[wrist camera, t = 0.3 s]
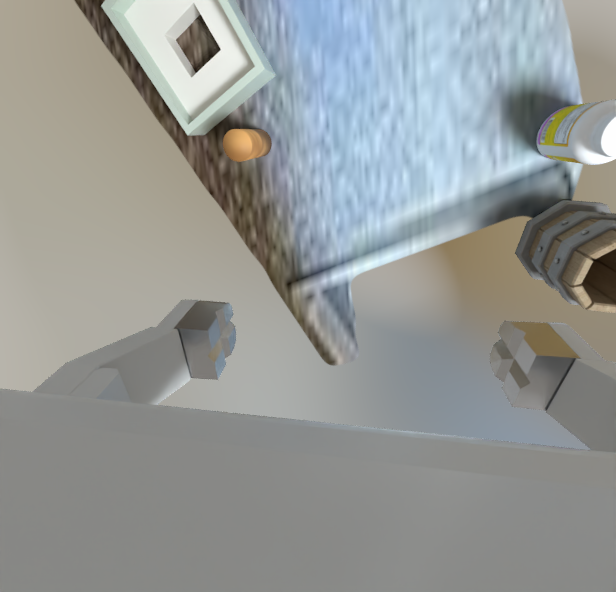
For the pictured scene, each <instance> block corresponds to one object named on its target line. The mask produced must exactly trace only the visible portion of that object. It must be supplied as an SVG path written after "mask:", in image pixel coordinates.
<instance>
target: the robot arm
mask: <svg viewBox="0 0 616 592" xmlns="http://www.w3.org/2000/svg"><path fill="white" fill-rule="evenodd" d="M232 316H233V310H232V306H231V305H230V303H225V302H213V301H201V300H200V301H198V300H181V301H180V302H179V303H178V304H177V305H176V307H175V308H174V309H173V310H172V311H171V312H170V313H169V314H168V315H167V316H166V317H165V318H164V319H163V320H162V321H161V322H160V323H159V325H158V326H157V327H150V328H148V329H145V330H143V331H140V332H138V333H136V334H133V335H131V336H129V337H126V338H124V339H121V340H119V341H117V342H115V343H112V344H110V345H107V346H105V347H103V348H100V349H98V350H95V351H93V352H91V353H88V354H86V355H84V356H81V357H79V358H77V359H74V360H72V361H70V362H67V363H65V364H64V365H63V366H62V367H61V368H60V369H58V370H57V371H56V372H55V373H54V374H53V375H51V377H49V378H48V379H47V380H46V381H45V382H43V383H42V384H41V385H40V386H39V387H37V388H36V389H35V390H34V391H33V392H27V391H17V390H8V389H0V592H616V363H614V362H612V361H605V360H604V359H603V358H602V357H601V356H600V355H599V354H598V353H597V352H596V351H595V350H593V348H591V347H590V346H589V345H588V344H587V343H586V342H585V341H584V340H583V339H582V338H581V337H580V336H579V335H578V334H577V333H576V332H575V331H574V330H573V329H572V328H571V327H570V326H568V325H566V324H564V323H549V322H543V323H541V322H519V321H504V322H503V323H502V324H501V326H500V328H499V331H498V334H499V336H500V338H501V340H499V341H498V342H496V343H495V344H494V345H493V347H492V350H491V353H490V364H491V368H492V371H493V372H494V375H495V376H496V377H497V378H499V379H500V380H501V381H503V382H504V384H503V386H502V390H503V391H504V393H505V395H506V396H507V399H508V400H509V402H510V404H511V405H512V407H519V408H527V409H535V410H544V411H546V413H547V414H549V415H550V416H551V417H552V418H554V419H555V420H556V421H557V422H558V423H560V424H561V425H562V426H563V427H564V428H566V429H567V430H568V431H569V432H570V433H572V434H573V435H574V436H575V437H576V438H578V439H579V440H580V441H581V442H582V443H584V444H585V445H586V446H587V447H588V448H590V449H591V450H584V449H574V448H564V447H555V446H546V445H536V444H527V443H517V442H508V441H498V440H489V439H478V438H470V437H460V436H451V435H441V434H431V433H422V432H411V431H402V430H393V429H383V428H372V427H364V426H354V425H344V424H334V423H324V422H315V421H305V420H295V419H285V418H276V417H267V416H257V415H248V414H247V415H246V414H238V413H228V412H219V411H209V410H199V409H190V408H180V407H171V406H161V405H157V404H159V403H160V402H161V401H163V400H164V399H165V398H167V397H168V396H169V395H170V394H172V393H173V392H174V391H176V390H177V389H179V388H180V387H181V386H183V385H184V384H185V383H187V382H188V381H189V380H191V378H200V379H216V380H218V378H219V377H220V375H221V373H222V371H223V369H224V367H225V365H226V362H225V358H226V357H228V356H229V355H231V353H232V351H233V349H234V346H235V341H236V330H235V326H234V324H233V323H232V322H231V321H230V319H231V318H232Z"/></svg>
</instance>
